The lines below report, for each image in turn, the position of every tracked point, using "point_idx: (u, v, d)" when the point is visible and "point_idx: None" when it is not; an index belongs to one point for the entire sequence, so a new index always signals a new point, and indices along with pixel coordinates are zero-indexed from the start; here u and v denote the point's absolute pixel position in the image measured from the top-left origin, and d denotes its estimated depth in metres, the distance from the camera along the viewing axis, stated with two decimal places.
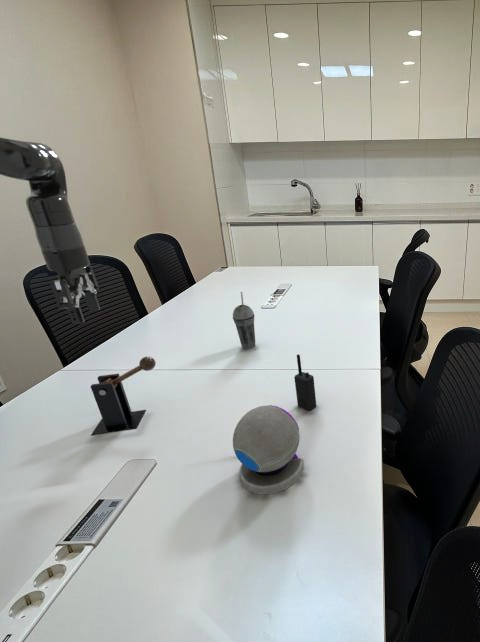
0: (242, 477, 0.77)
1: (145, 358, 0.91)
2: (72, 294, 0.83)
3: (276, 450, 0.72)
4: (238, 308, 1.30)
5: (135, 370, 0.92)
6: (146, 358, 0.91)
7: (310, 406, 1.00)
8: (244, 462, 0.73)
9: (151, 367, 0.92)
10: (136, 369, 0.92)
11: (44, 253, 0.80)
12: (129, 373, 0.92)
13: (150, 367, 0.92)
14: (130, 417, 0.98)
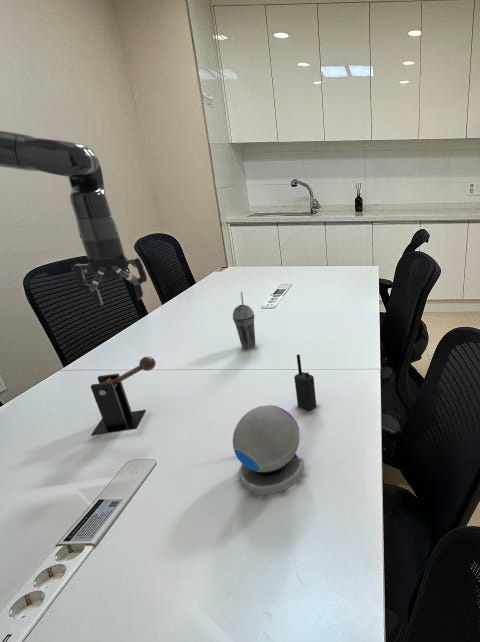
0: (242, 477, 0.77)
1: (145, 358, 0.91)
2: None
3: (276, 450, 0.72)
4: (238, 308, 1.30)
5: (135, 370, 0.92)
6: (146, 358, 0.91)
7: (310, 406, 1.00)
8: (244, 462, 0.73)
9: (151, 367, 0.92)
10: (136, 369, 0.92)
11: None
12: (129, 373, 0.92)
13: (150, 367, 0.92)
14: (130, 417, 0.98)
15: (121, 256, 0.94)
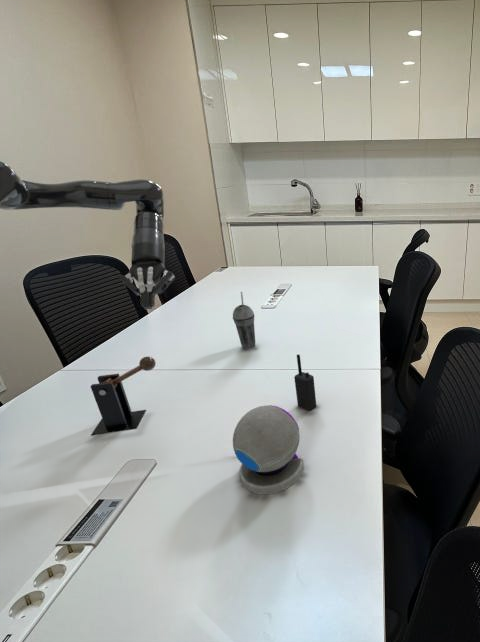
0: (242, 477, 0.77)
1: (145, 358, 0.91)
2: None
3: (276, 450, 0.72)
4: (238, 308, 1.30)
5: (135, 370, 0.92)
6: (146, 358, 0.91)
7: (310, 406, 1.00)
8: (244, 462, 0.73)
9: (151, 367, 0.92)
10: (136, 369, 0.92)
11: None
12: (129, 373, 0.92)
13: (150, 367, 0.92)
14: (130, 417, 0.98)
15: (159, 262, 1.01)
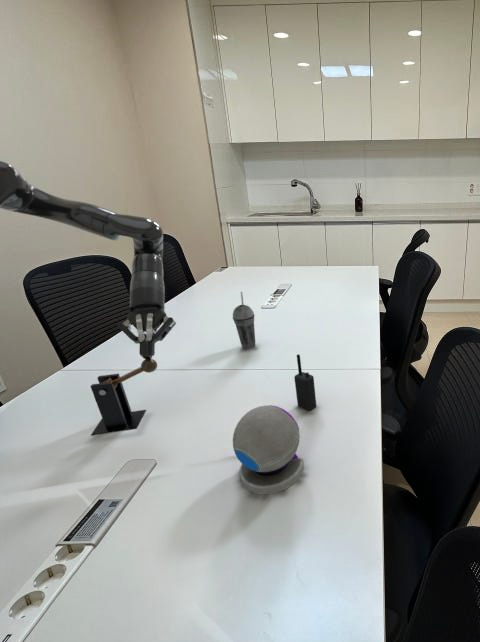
0: (242, 477, 0.77)
1: (147, 360, 0.92)
2: None
3: (276, 450, 0.72)
4: (238, 308, 1.30)
5: (136, 371, 0.92)
6: (148, 360, 0.92)
7: (310, 406, 1.00)
8: (244, 462, 0.73)
9: (153, 369, 0.92)
10: (137, 370, 0.92)
11: None
12: (130, 374, 0.92)
13: (152, 369, 0.92)
14: (130, 417, 0.98)
15: (159, 307, 0.96)
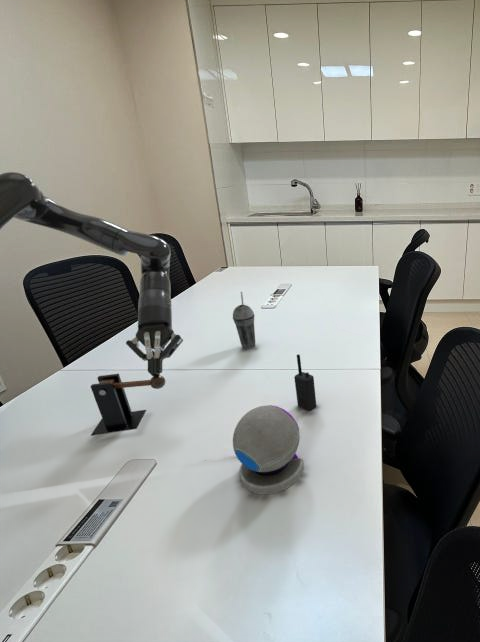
0: (242, 477, 0.77)
1: (159, 377, 0.94)
2: None
3: (276, 450, 0.72)
4: (238, 308, 1.30)
5: (143, 383, 0.94)
6: (160, 377, 0.94)
7: (310, 406, 1.00)
8: (244, 462, 0.73)
9: (160, 387, 0.94)
10: (144, 383, 0.94)
11: None
12: (136, 384, 0.93)
13: (159, 387, 0.94)
14: (130, 417, 0.98)
15: (167, 325, 0.97)
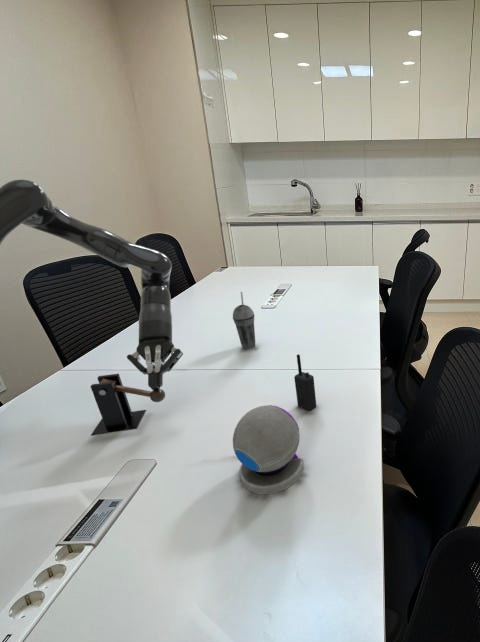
0: (242, 477, 0.77)
1: (161, 392, 0.96)
2: None
3: (276, 450, 0.72)
4: (238, 308, 1.30)
5: (143, 393, 0.95)
6: (162, 392, 0.96)
7: (310, 406, 1.00)
8: (244, 462, 0.73)
9: (158, 401, 0.96)
10: (145, 393, 0.95)
11: None
12: (136, 392, 0.94)
13: (158, 401, 0.95)
14: (130, 417, 0.98)
15: (167, 339, 0.99)
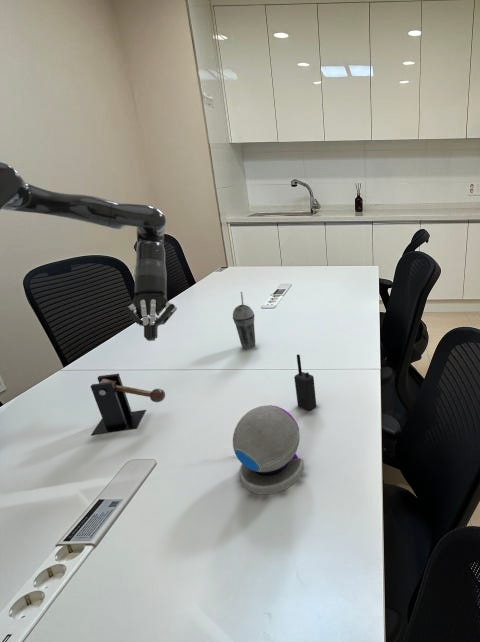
0: (242, 477, 0.77)
1: (161, 392, 0.96)
2: None
3: (276, 450, 0.72)
4: (238, 308, 1.30)
5: (143, 393, 0.95)
6: (162, 392, 0.96)
7: (310, 406, 1.00)
8: (244, 462, 0.73)
9: (158, 401, 0.96)
10: (145, 393, 0.95)
11: None
12: (136, 392, 0.94)
13: (158, 401, 0.95)
14: (130, 417, 0.98)
15: (162, 293, 1.04)
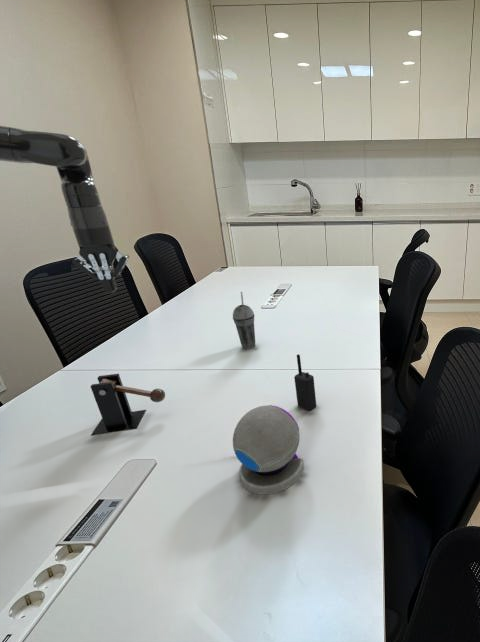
0: (242, 477, 0.77)
1: (161, 392, 0.96)
2: None
3: (276, 450, 0.72)
4: (238, 308, 1.30)
5: (143, 393, 0.95)
6: (162, 392, 0.96)
7: (310, 406, 1.00)
8: (244, 462, 0.73)
9: (158, 401, 0.96)
10: (145, 393, 0.95)
11: None
12: (136, 392, 0.94)
13: (158, 401, 0.95)
14: (130, 417, 0.98)
15: (109, 245, 0.98)
